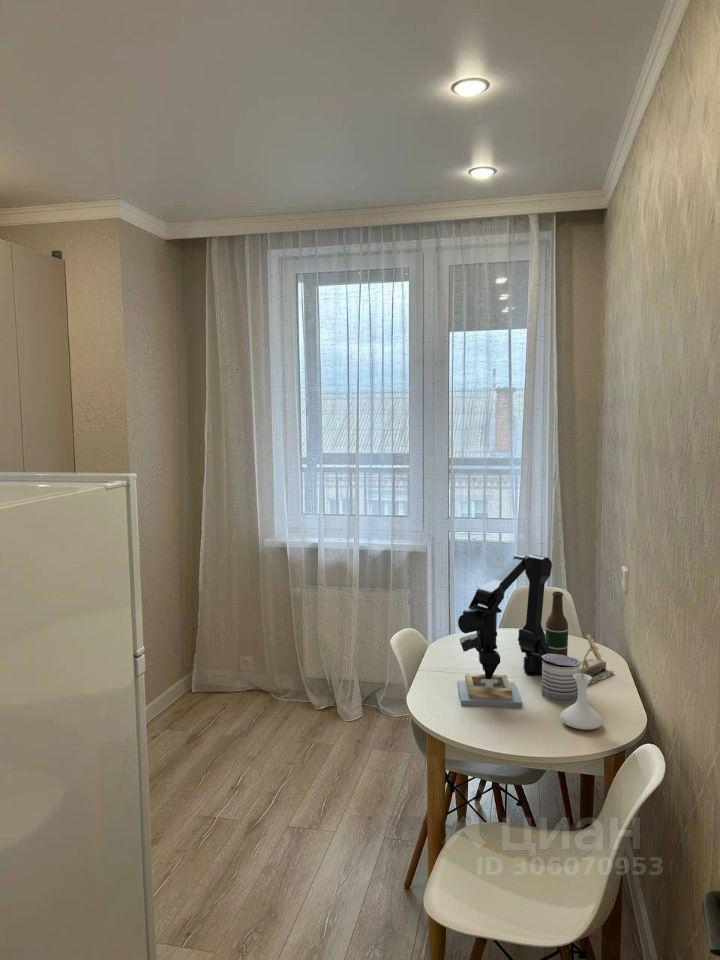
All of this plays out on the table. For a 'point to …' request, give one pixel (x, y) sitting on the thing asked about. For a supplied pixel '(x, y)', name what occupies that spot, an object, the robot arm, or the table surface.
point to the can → (559, 678)
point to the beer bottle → (557, 627)
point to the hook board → (477, 701)
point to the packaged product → (595, 669)
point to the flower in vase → (583, 699)
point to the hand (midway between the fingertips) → (486, 675)
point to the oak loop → (488, 692)
